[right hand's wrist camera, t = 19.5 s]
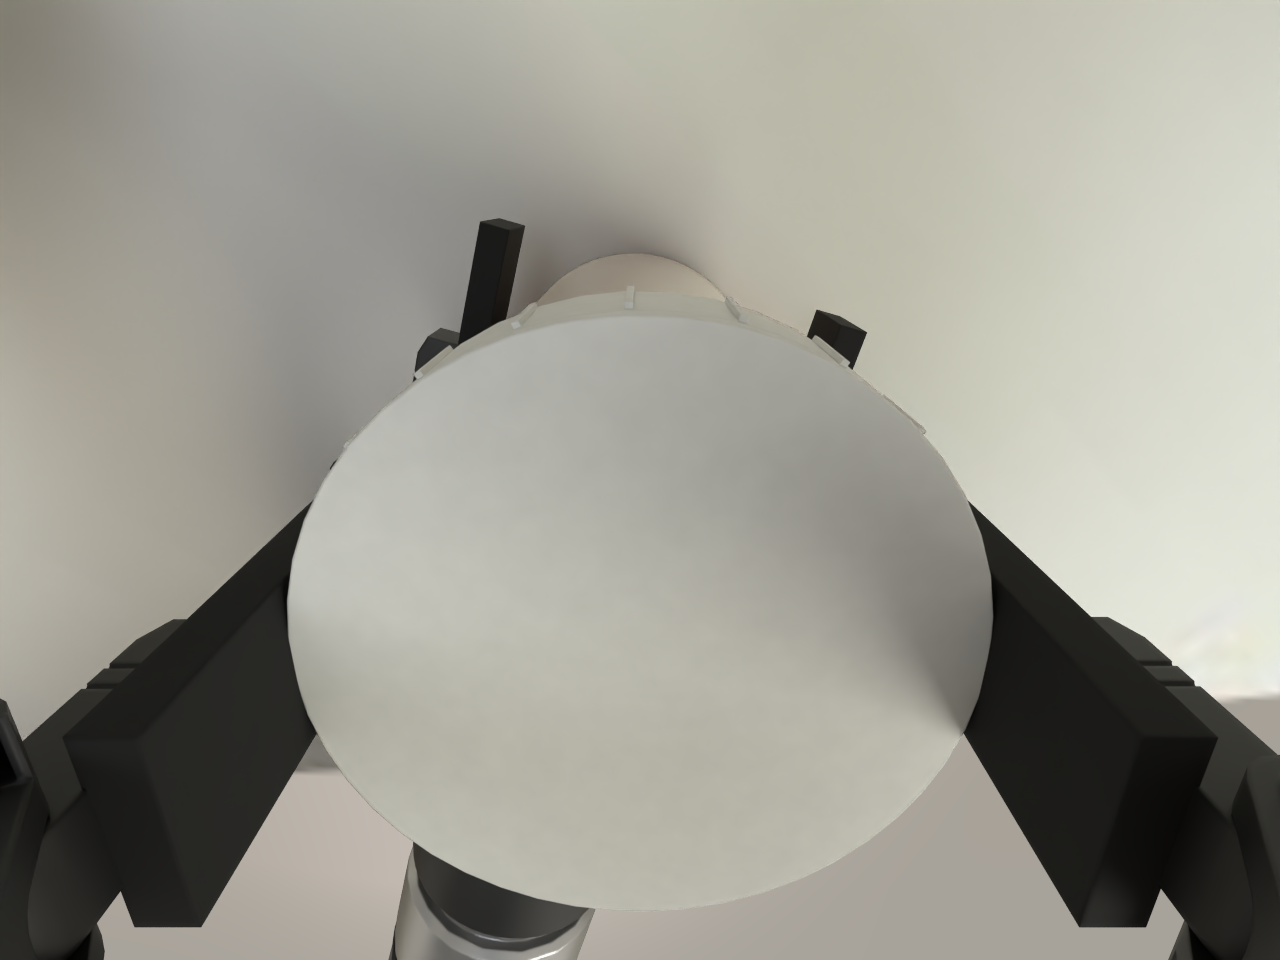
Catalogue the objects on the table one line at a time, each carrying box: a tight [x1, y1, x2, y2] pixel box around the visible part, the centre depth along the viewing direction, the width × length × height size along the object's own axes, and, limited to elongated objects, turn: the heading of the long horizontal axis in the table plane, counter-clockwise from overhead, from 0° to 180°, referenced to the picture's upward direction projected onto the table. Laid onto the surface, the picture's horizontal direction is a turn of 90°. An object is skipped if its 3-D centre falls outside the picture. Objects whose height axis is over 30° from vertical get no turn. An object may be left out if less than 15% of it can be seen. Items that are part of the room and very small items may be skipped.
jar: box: [536, 253, 726, 307], centre depth 20 cm, size 9×9×17 cm
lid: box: [287, 286, 993, 911], centre depth 11 cm, size 10×10×2 cm
